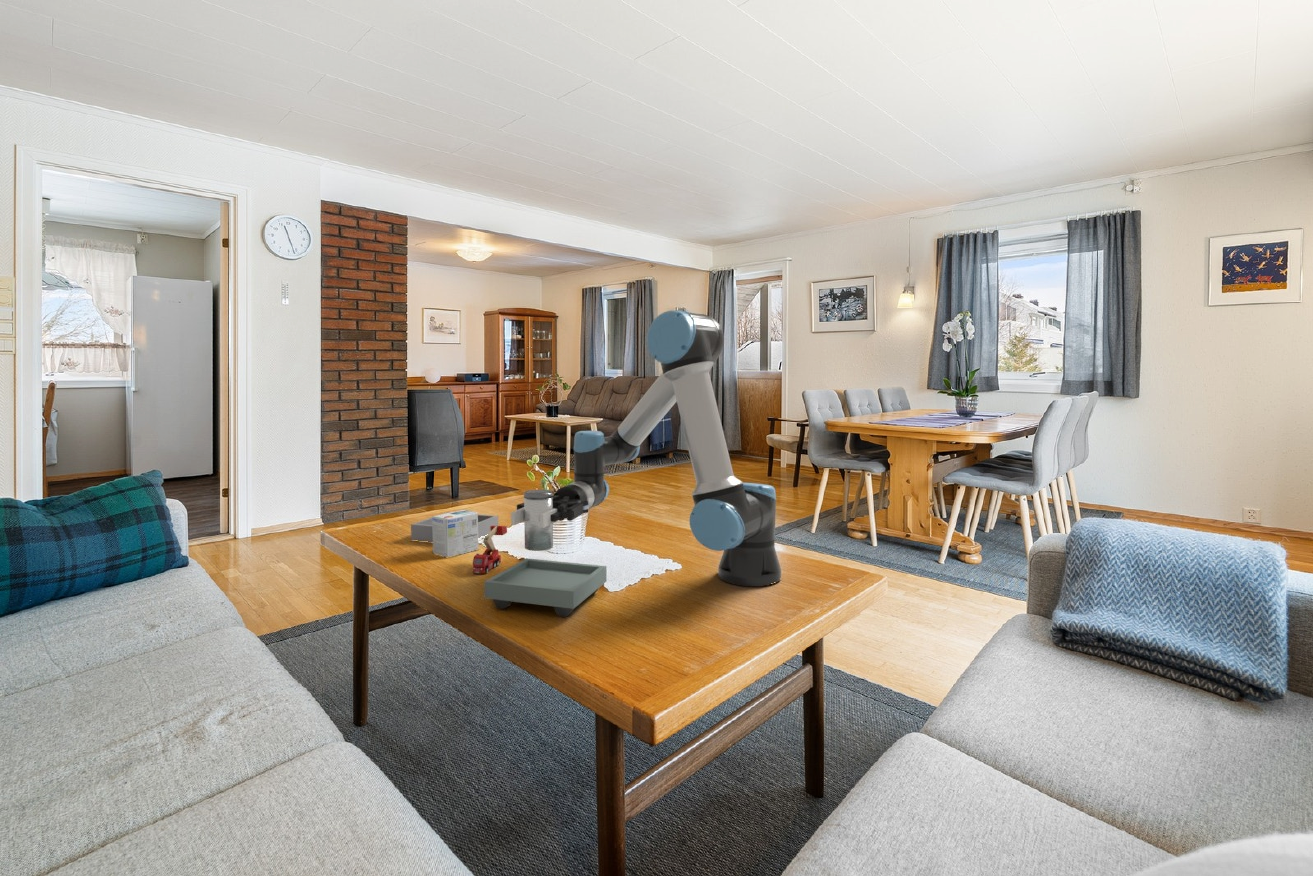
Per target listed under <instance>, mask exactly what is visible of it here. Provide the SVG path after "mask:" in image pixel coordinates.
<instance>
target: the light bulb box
mask: <svg viewBox="0 0 1313 876" xmlns="http://www.w3.org/2000/svg"><path fill="white" fill-rule="evenodd" d="M450 512H451V513H446V512H445V513H446V514H443V513H441V515H440V514H438V515H432V516H431V517H432V531H433V543H432V550H433V552H432V553H434V554H438V555H442V556H445V557H450V556H453V557H455V556H454V555H457V556H459V555H458V554H461V555H465V554H468V553H467V552H469V553H472V552H475V551H474V550H476V551H478V550H477V549H479V541H478V514H479V512H477V511H472V510H467V509H464V510H462V509H459V510H457V511H456V510H455V511H450ZM471 551H472V552H471ZM464 553H465V554H464ZM434 554H433V555H434ZM450 558H451V557H450Z"/></svg>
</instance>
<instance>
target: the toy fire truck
mask: <svg viewBox="0 0 1313 876" xmlns="http://www.w3.org/2000/svg"><path fill="white" fill-rule="evenodd" d="M490 529H491V532H490V533H489V534H488V535H487V536H485V538H483V539H482V543H483V544H484V546H485V547H486V549H485V550H484V551H483V553H482V554H480V553H476V554H475V555H474V556H473V559H472V573H474V574H488V573H489V571H490V570H492V569H495V568H496V567H499V565H500V563H502V562H501V559H502V557H501V554H499V549H498V548H497V549H496V547H495V544H494V542H493V540H492V538H493V537H494V536H504V535H506V534H507V533H508V525H498V526H491V527H490ZM487 572H488V573H487Z"/></svg>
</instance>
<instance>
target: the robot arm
mask: <svg viewBox="0 0 1313 876" xmlns="http://www.w3.org/2000/svg"><path fill="white" fill-rule="evenodd" d="M723 331H724V330H723V329H722V326H721V325H720V323H719V322H718V321H717V320H715V319H714V317H712V316H709V315H707V314H704V313H703V314H702V313H695V312H688V311H686V310H683V309H676V310H674V309H673V310H667V311H664V312H662V313H660V314H659V315H657V316H656V317H655V318H654V320H653V321H652V322H651V324H650V326H649V327H648V331H647V334H646V346H647V351H648V352H649V354H650V355H651V357H652V358H653V359H655V360H656V361H657V362H658V363H660V366H661V370H662V372H661V373H660V374H659V376H658V377H657V378H656V380H655V381H654V382H653V383H652V385H651V386H650V387H649V388H648V389H647V391H645V394H643V396H642V397H641V399H639V400H638V402H637V403H636V404H635V406H634V407H633V408H632V410H630V412H629V413H628V414H627V416H626V417H625V418H624V420H623V421H622V422H621V423H620V425H619V426H618V427H617V428H616V430H615V431H614V432H612V434H611V435H610V436H605V434H604V433H603V432H602V431H600V430H580V431H577V432H575V433H574V434H575V435H574V440H573V447H572V448H573V482H571V483H569V484H566V485H565V486H564V485H563V486H561V487H560V488H557V490H556V491H555V492H554V493H553V509H552V510H549V511H547V512H545V513H543V514H540V528H544V527H546V526H548V525H550V524H552V523H553V524H554V523H556V522H558V521H559V522H560V521H561V522H563V521H565V519H566V520H567V521H568V522H572V521H573V520H575V519H577V518H579V517H580V516H582V515H584V514H586V513H589V510H590V509H592V508H594V507H598V506H599V505H600V504H602V503H603V502H604V501H605V500H606V499H607V497H608V496H609V492H610V486H609V484H608V481H607V480H606V479H605V475H604V474H605V466H610V465H617V464H625V463H629V462H630V461H633V460H635V459H636V458H637V457H638V455H640V454H639V453H640V449H641V445H642V443H643V442H644V441H645V439H647V437H648V436H649V435H650V434H651V433H652V431H653V430H654V429H655V427H657V425H658V424H659V423H660V422H661V420H662V419H663V418H664V417H665V416H666V415H667V413H668V412H670V410H671V408H673V406H675V404H676V405H677V408H678V412H679V415H680V420H681V424H682V428H683V429H682V430H683V433H684V437H685V440H686V445H687V449H688V453H689V457H690V463H691V466H692V470H693V475H694V480H695V482H696V483H695V484H696V485H695V488H694V489H693V491H692V494H691V495H692V499H693V504H694V506H693V508H692V509H691V512H690V514H689V527H690V530H691V532H692V535H693V537H694V538H695V540H696V541H697V542H698V543H699V544H700V545H703V547H705V548H706V549H709V550H711V551H714V552H715V551H716V552H717V551H718V552H720V551H723V552H722V556H721V558H720V561H719V564H718V569H717V570H718V571H717V573H718V574H717V577H718V578H719V579H720V581H721V580H722V581H723V582H726V583H728V584H731V585H736V586H743V587H764V586H763V585H767V586H769V585H768V584H771V583H774V582H778V581H779V580H780V578H781V579H782V567H781V565H780V561H779V558H778V557H779V556H778V554H777V551H776V547H775V546H776V545H775V542H776V541H775V540H776V539H775V538H776V514H777V512H776V511H777V510H776V507H777V500H778V499H777V498H776V497H777V496H776V495H777V494H776V492H777V491H776V489H775V487H774V486H773V485H770V484H763V483H754V482H753V483H752V482H743V481H742V480H740V479H739V478H737V477H736V476H735V474H734V471H733V466H732V463H731V458H730V455H729V449H728V445H727V442H726V437H725V434H724V433H725V432H724V429H723V425H722V421H721V417H720V413H719V408H718V405H717V400H716V396H715V392H714V388H713V385H712V380H711V379H712V378H711V375H710V371H711V370H712V368H713V366H714V365H715V363H716V361H717V360H718V358H719V357H720V356H721V354H722V351H723V348H724V343H725V337H724V332H723ZM523 522H524V502H521V503H518V504H516V510H513V511H511V512H510V525H511V526H516V525H519V524H520V523H523ZM780 581H781V580H780ZM780 581H779V582H780ZM779 582H778V583H779Z"/></svg>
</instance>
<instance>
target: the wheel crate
mask: <svg viewBox="0 0 1313 876" xmlns="http://www.w3.org/2000/svg"><path fill="white" fill-rule="evenodd" d="M451 512H452V511H447V512H444V513H441V514H446V513H451ZM441 514H439V515H441ZM491 526H499V515H490V514H480V513H478V538H480V537H481V536H485V535H487V534H489V533H490V532H491V529H490V527H491ZM410 534H411V535H410V541H411V540H418V541H428V542H433V531H432V516H431V517H428V518H425V519H422V520H420V521H417V522H414V523H411V524H410Z"/></svg>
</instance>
